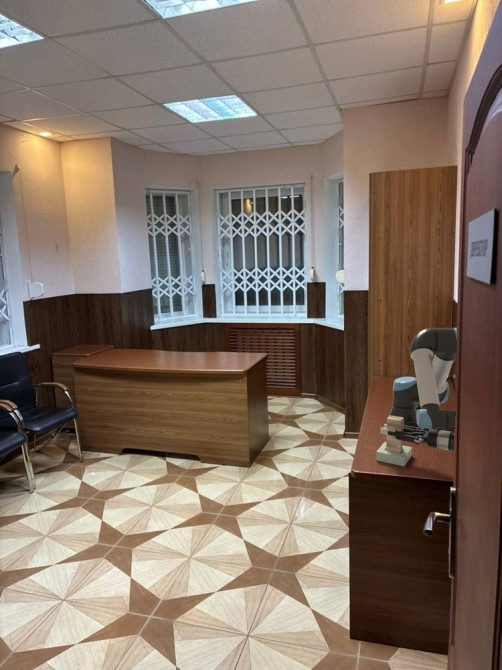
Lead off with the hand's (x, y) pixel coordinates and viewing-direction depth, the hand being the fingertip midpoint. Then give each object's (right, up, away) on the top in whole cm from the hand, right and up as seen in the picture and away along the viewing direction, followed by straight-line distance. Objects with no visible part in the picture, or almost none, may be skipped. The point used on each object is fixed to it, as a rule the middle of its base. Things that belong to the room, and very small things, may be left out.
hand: (382, 428), depth 206 cm
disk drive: (+38, 0, +67) cm, 77 cm away
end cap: (+5, -13, -1) cm, 14 cm away
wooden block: (+5, -10, -1) cm, 11 cm away
